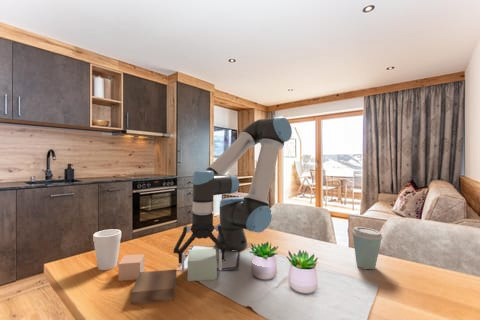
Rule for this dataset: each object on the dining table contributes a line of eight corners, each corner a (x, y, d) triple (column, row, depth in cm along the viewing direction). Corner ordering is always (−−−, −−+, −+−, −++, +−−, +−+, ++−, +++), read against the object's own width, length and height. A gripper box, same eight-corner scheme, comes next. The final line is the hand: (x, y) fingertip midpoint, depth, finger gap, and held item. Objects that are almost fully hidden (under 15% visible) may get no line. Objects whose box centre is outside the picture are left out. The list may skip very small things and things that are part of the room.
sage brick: (215, 266, 93) (215, 248, 93) (216, 279, 83) (216, 259, 83) (189, 267, 92) (189, 249, 92) (187, 281, 82) (187, 261, 82)
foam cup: (108, 273, 86) (108, 238, 86) (87, 270, 88) (87, 236, 88) (126, 262, 96) (126, 230, 96) (106, 259, 98) (106, 228, 97)
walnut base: (176, 280, 83) (176, 269, 83) (173, 301, 71) (173, 288, 71) (139, 283, 80) (139, 272, 80) (130, 305, 69) (130, 292, 69)
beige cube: (144, 269, 90) (144, 254, 90) (140, 279, 83) (140, 262, 83) (124, 271, 88) (124, 255, 88) (118, 281, 82) (118, 263, 81)
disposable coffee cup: (367, 259, 100) (368, 224, 100) (388, 271, 90) (389, 232, 90) (345, 262, 98) (346, 226, 98) (365, 275, 87) (366, 234, 87)
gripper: (234, 209, 93) (233, 263, 94) (168, 211, 88) (167, 267, 89) (238, 214, 86) (236, 272, 86) (166, 216, 81) (165, 277, 81)
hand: (201, 270), depth 87 cm, fingers open, 13 cm apart
